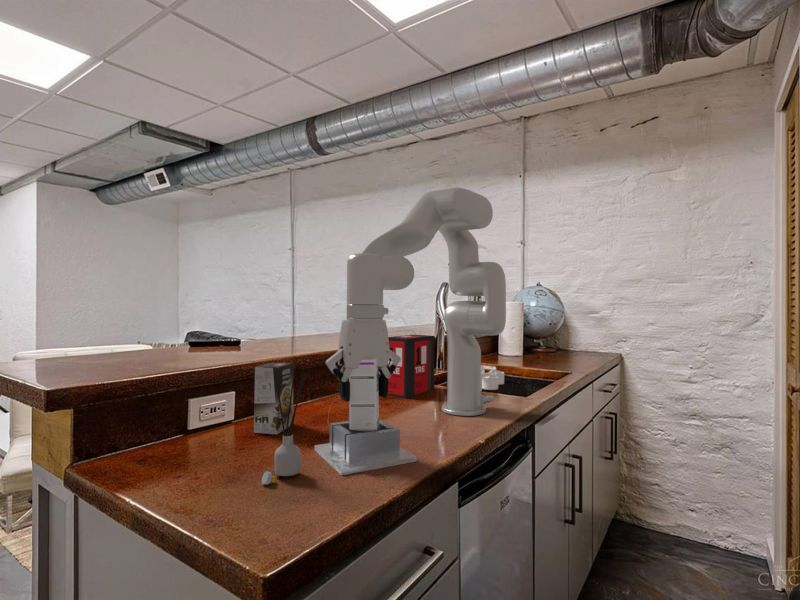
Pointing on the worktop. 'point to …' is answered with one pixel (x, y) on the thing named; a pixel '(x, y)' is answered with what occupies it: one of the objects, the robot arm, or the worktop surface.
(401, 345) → the cleaning product box
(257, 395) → the coffee box
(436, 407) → the worktop surface
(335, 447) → the square socket
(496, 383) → the skeletal toy car
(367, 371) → the syrup box
